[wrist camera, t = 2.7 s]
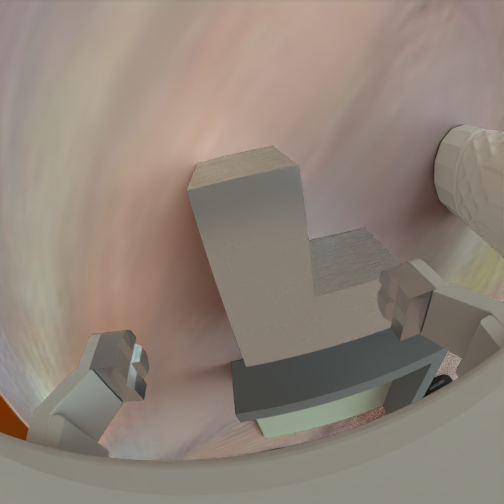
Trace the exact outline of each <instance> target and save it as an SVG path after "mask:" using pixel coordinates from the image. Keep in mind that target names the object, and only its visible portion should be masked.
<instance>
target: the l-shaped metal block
mask: <svg viewBox="0 0 504 504" xmlns="http://www.w3.org/2000/svg"><path fill="white" fill-rule="evenodd" d="M187 194H188V197H189V200H190V204H191V207H192V210H193V213H194V217H195V220H196V223H197V226H198V230H199V233H200V236H201V239H202V242H203V245H204V248H205V251H206V255H207V258H208V261H209V264H210V267H211V270H212V273H213V276H214V279H215V282H216V285H217V287H218V290H219V293H220V296H221V299H222V302H223V305H224V308H225V310H226V313H227V316H228V319H229V322H230V324H231V327H232V330H233V333H234V335H235V338H236V341H237V344H238V346H239V349H240V352H241V354H242V357H243V360H244V362H245V365H246V367H249V366H254V365H259V364H264V363H268V362H273V361H278V360H282V359H286V358H291V357H295V356H299V355H303V354H307V353H310V352H314V351H318V350H322V349H325V348H329V347H332V346H336V345H339V344H343V343H346V342H349V341H352V340H356V339H359V338H362V337H365V336H368V335H371V334H374V333H377V332H380V331H383V330H385V329H388V328H391V321H389V320H387V319H384V317H383V316H382V314H381V312H380V310H379V307H378V301H377V297H378V291H379V290H380V288H381V287H382V285H381V283H380V282H379V276H380V273H381V271H383V270H386V269H389V268H392V267H395V266H398V265H401V264H400V263H399V262H398V261H397V260H396V259H395V258H394V257H393V256H392V255H391V254H390V253H389V251H388V250H387V249H386V248H385V247H384V246H383V245H382V244H381V243H380V242H379V241H378V240H377V239H376V238H375V237H374V236H373V235H372V234H371V233H370V232H369V231H368V230H367V229H366V228H363V229H358V230H354V231H349V232H345V233H341V234H336V235H332V236H328V237H323V238H319V239H314V240H310V241H309V239H308V230H307V221H306V213H305V205H304V198H303V191H302V183H301V176H300V170H299V165H298V164H296V163H295V162H294V161H293V160H291V159H290V158H289V157H288V156H286V155H285V154H284V153H282V152H281V151H280V150H278V149H277V148H276V147H274V146H270V147H265V148H260V149H255V150H250V151H245V152H241V153H236V154H232V155H228V156H223V157H219V158H215V159H211V160H207V161H203V162H199V163H198V164H197V166H196V168H195V171H194V173H193V176H192V178H191V181H190V183H189V186H188V188H187Z"/></svg>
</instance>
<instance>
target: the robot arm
mask: <svg viewBox="0 0 504 504" xmlns="http://www.w3.org/2000/svg"><path fill="white" fill-rule="evenodd" d="M379 282H380V283H381V285H382V287H381V288H380V290H379V291H378V297H377V301H378V307H379V310H380V312H381V314H382V316H383V317H384V319H387V320H389V321H391V329H392V330H393V332H394V333H395V335H396V336H397V338H398V339H399V341H402V340H405V339H407V338H410V337H413V336H415V335H418V334H420V333H421V335H423V336H424V337H426V338H428V339H430V340H431V341H433V342H435V343H436V344H438V345H440V346H442V347H443V348H445V349H447V350H448V351H450V352H452V353H454V354H455V355H457V356H459V357H460V358H462V360H461V362H460V364H459V365H458V367H457V370H456V374H457V376H458V377H459V378H457V379H456V380H454V381H452V382H451V383H449V384H447V385H446V386H444V387H442V388H440V389H439V390H437V391H435V392H433V393H431V394H429V395H428V396H426V397H424V398H422V399H420V400H418V401H416V402H414V403H412V404H410V405H408V406H405V407H403V408H401V409H399V410H397V411H394V412H392V413H390V414H388V415H385V416H383V417H380V418H378V419H375V420H373V421H370V422H368V423H365V424H362V425H360V426H357V427H354V428H351V429H348V430H346V431H343V432H339V433H336V434H333V435H330V436H327V437H323V438H320V439H316V440H313V441H309V442H305V443H301V444H297V445H293V446H288V447H284V448H279V449H274V450H269V451H264V452H258V453H252V454H245V455H238V456H230V457H221V458H211V459H197V460H132V459H119V458H109V451H108V450H107V449H106V448H105V447H103V446H102V445H100V444H99V443H98V441H99V439H100V437H101V436H102V434H103V433H104V431H105V430H106V428H107V427H108V425H109V424H110V422H111V421H112V419H113V418H114V416H115V415H116V413H117V411H118V410H119V408H120V407H121V405H122V404H123V402H127V401H140V400H144V397H145V390H146V383H145V381H144V380H143V379H144V377H145V376H146V375H147V374H148V369H149V363H148V357H147V355H146V352H145V350H144V349H143V347H142V346H140V345H138V344H136V343H135V341H136V337H135V335H134V334H133V332H132V331H130V330H122V331H114V332H106V333H100V334H92V335H91V336H90V337H89V339H88V341H87V344H86V346H85V349H84V352H83V354H82V357H81V360H80V362H79V365H78V368H77V370H73V371H72V372H71V373H70V374H69V376H68V377H67V378H66V379H65V380H64V381H63V382H62V383H61V384H60V385H59V386H58V387H57V388H56V389H55V390H54V391H53V392H52V393H51V394H50V395H49V396H48V397H47V398H46V399H45V400H44V401H43V402H42V404H41V405H40V406H39V407H38V408H37V409H36V410H35V411H34V414H33V417H32V420H31V424H30V427H29V431H28V434H27V438H26V441H24V440H20V439H17V438H14V437H11V436H8V435H5V434H3V433H0V504H504V302H503V301H500V300H498V299H495V298H492V297H489V296H487V295H484V294H481V293H478V292H475V291H472V290H470V289H467V288H464V287H461V286H458V285H455V284H452V283H450V284H447V283H446V282H445V281H444V280H443V279H442V278H441V277H440V276H439V275H438V274H437V273H436V272H435V271H434V270H433V269H432V268H431V267H429V266H428V265H427V264H426V263H425V262H424V261H423V260H422V259H415V260H412V261H410V262H407V263H405V264H401V265H398V266H395V267H392V268H389V269H386V270H383V271H381V273H380V276H379Z"/></svg>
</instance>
